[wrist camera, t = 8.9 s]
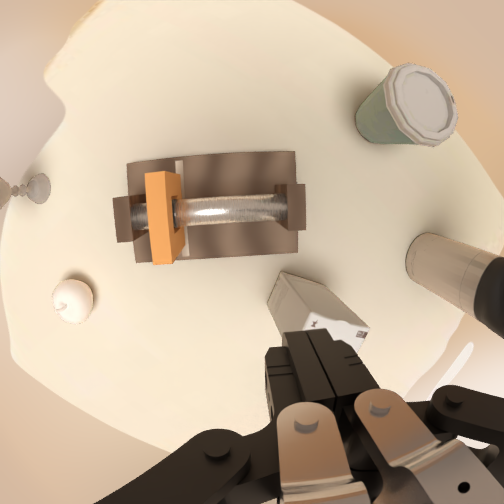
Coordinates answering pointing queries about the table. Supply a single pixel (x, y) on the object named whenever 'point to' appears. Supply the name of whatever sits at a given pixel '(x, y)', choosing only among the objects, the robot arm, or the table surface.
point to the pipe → (218, 210)
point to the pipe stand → (214, 185)
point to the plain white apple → (73, 301)
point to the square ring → (163, 216)
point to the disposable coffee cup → (408, 109)
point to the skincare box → (314, 310)
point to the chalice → (27, 190)
